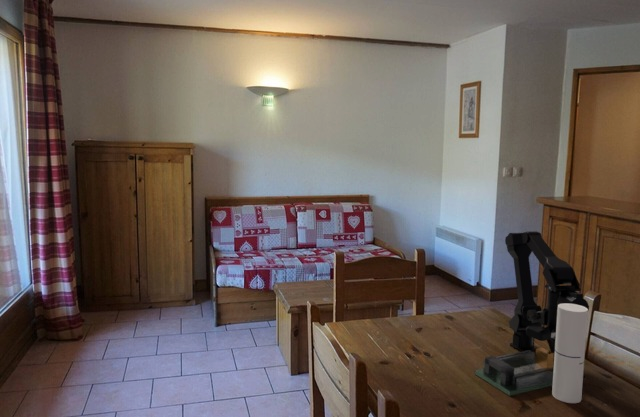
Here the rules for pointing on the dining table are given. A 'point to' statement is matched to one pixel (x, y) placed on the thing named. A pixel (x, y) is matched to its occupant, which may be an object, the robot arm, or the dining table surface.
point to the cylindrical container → (569, 352)
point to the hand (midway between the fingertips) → (554, 356)
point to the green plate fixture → (502, 373)
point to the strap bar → (537, 362)
